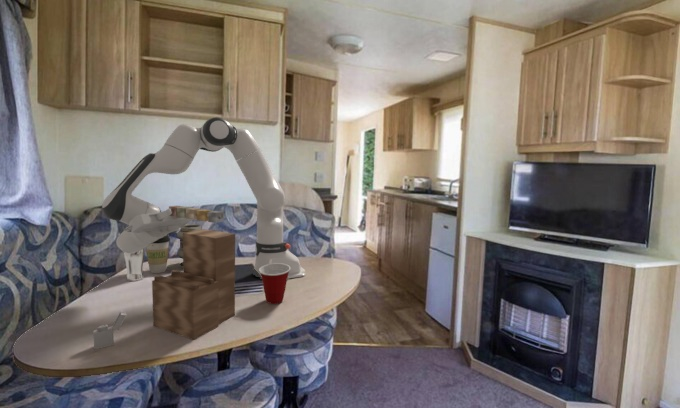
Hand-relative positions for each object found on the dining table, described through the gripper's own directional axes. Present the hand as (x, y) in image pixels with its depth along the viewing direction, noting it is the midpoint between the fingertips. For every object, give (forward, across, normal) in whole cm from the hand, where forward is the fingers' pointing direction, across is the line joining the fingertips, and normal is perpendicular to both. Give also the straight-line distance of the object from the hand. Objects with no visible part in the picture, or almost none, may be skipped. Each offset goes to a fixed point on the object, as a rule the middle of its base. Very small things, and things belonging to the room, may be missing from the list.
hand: (178, 209), depth 111 cm
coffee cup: (-49, +22, +9) cm, 55 cm away
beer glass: (-48, +11, +10) cm, 50 cm away
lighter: (-12, -25, +30) cm, 41 cm away
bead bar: (+5, 0, +5) cm, 8 cm away
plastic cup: (+4, +20, +40) cm, 44 cm away
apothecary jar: (-46, +36, +11) cm, 59 cm away
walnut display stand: (-5, -4, +34) cm, 35 cm away
